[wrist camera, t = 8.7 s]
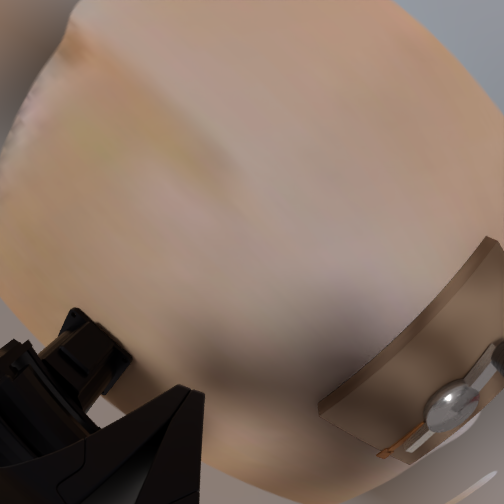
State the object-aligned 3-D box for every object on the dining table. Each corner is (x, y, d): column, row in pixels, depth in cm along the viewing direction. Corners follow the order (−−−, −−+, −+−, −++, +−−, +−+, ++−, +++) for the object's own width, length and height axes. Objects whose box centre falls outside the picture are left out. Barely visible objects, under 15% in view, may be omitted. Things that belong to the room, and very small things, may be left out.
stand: (401, 458, 23) (404, 469, 21) (311, 407, 22) (312, 422, 20) (536, 333, 18) (545, 341, 17) (486, 235, 17) (499, 241, 15)
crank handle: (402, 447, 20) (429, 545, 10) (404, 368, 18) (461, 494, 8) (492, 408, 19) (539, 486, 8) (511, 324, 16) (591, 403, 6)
